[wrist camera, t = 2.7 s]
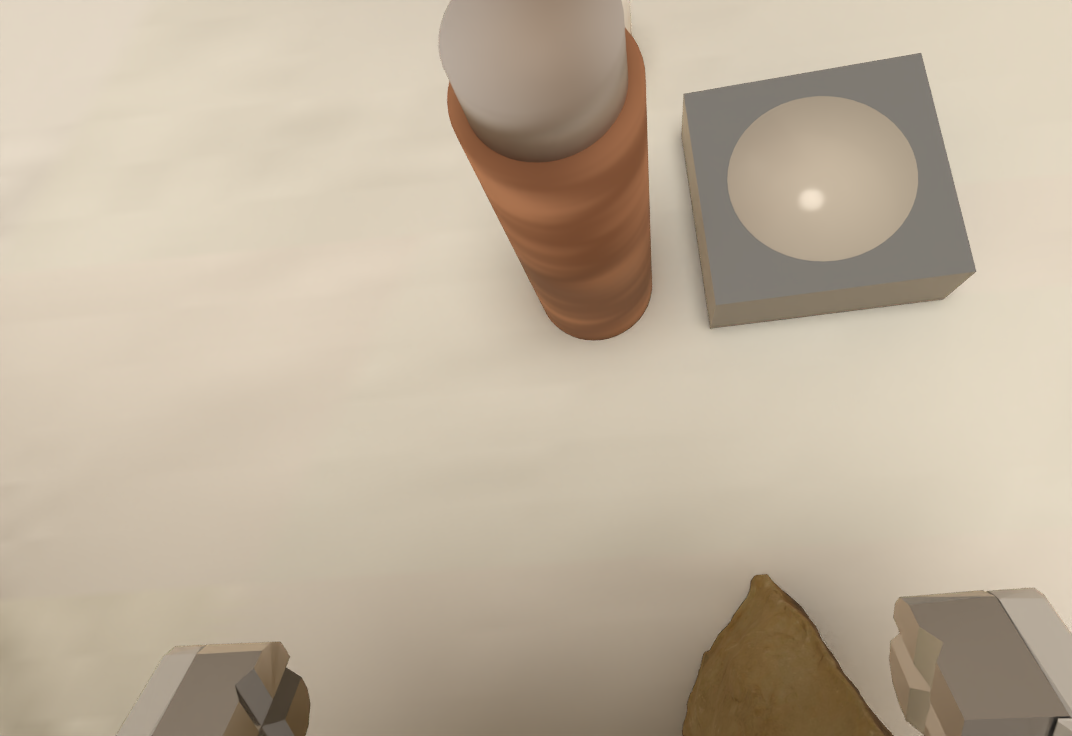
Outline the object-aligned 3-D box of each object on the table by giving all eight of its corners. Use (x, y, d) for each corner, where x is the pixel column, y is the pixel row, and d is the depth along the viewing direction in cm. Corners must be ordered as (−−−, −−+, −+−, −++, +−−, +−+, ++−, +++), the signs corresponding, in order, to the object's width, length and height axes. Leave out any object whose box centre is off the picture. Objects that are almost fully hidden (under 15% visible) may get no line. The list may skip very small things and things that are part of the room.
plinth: (710, 328, 29) (716, 304, 26) (681, 134, 31) (683, 93, 28) (943, 299, 28) (976, 270, 25) (896, 99, 30) (921, 52, 27)
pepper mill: (544, 346, 30) (425, 147, 15) (536, 242, 31) (416, -42, 16) (658, 332, 29) (657, 108, 14) (645, 226, 31) (629, -87, 15)
